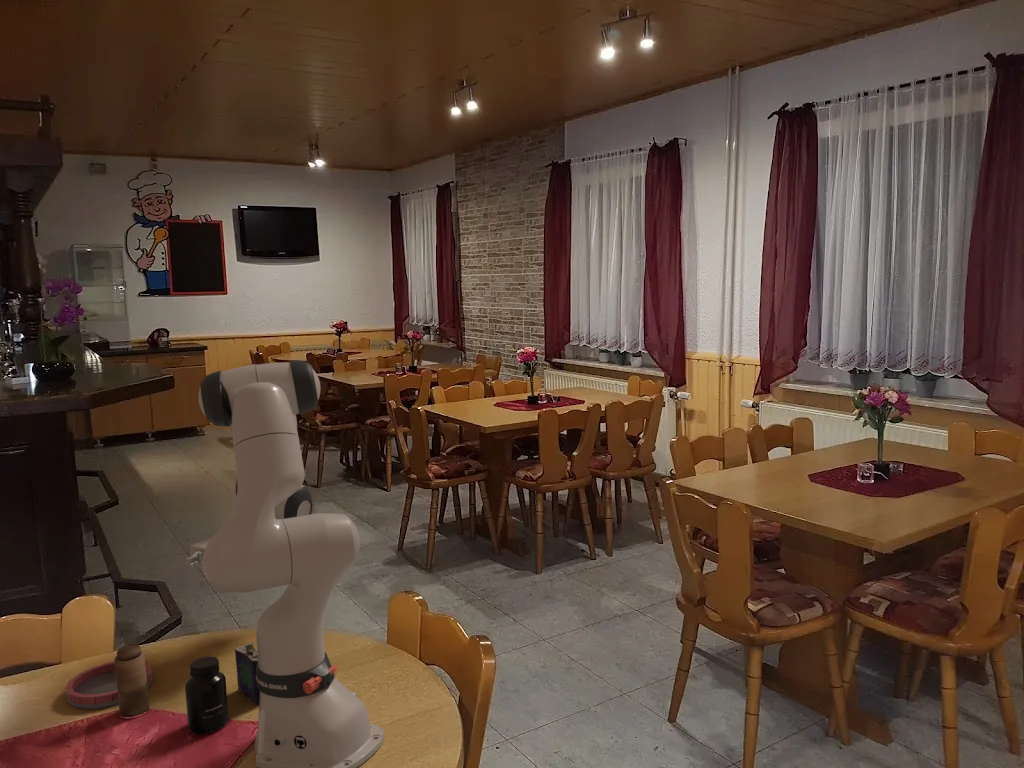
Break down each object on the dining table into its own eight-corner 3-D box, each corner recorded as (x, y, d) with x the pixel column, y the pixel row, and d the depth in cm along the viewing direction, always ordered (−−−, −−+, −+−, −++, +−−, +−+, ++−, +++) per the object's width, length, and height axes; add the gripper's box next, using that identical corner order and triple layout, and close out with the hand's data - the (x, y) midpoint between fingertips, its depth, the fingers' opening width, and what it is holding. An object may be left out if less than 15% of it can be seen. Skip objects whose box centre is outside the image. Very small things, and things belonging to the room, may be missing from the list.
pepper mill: (155, 707, 147) (149, 646, 146) (132, 721, 143) (126, 658, 142) (137, 702, 150) (131, 642, 148) (114, 715, 145) (107, 653, 144)
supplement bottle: (215, 737, 137) (209, 672, 135) (180, 734, 138) (174, 670, 137) (236, 716, 143) (231, 654, 142) (203, 713, 145) (197, 652, 143)
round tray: (168, 679, 158) (167, 667, 158) (101, 716, 145) (100, 703, 145) (118, 666, 165) (117, 655, 165) (50, 700, 152) (49, 688, 151)
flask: (235, 691, 153) (231, 639, 151) (249, 685, 155) (245, 634, 154) (257, 707, 146) (253, 653, 145) (272, 701, 148) (268, 648, 147)
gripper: (218, 527, 177) (167, 545, 165) (287, 536, 168) (240, 557, 156) (220, 553, 178) (170, 574, 166) (289, 564, 169) (242, 587, 157)
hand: (204, 566), depth 161 cm, fingers open, 8 cm apart
